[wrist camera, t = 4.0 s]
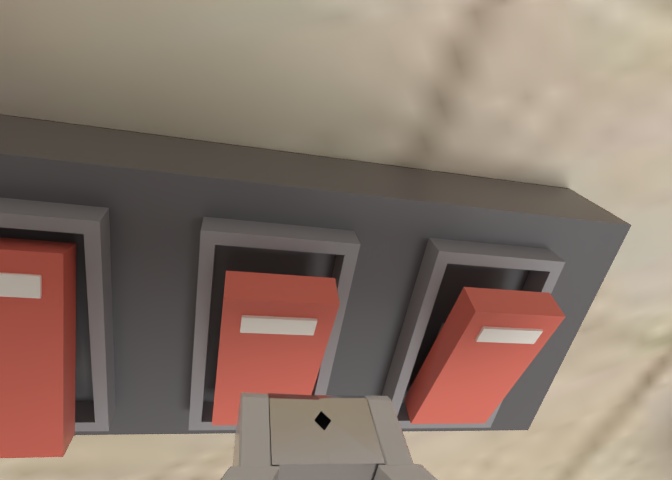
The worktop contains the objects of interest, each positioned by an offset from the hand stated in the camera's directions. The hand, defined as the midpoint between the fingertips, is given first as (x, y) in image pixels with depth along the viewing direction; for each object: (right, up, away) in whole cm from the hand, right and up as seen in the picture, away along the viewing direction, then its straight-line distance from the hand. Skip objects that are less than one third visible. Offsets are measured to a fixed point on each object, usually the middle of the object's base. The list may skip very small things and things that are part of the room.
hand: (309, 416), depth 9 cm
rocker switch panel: (-4, +2, +9) cm, 10 cm away
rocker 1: (-8, +1, +3) cm, 9 cm away
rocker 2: (-2, 0, +5) cm, 5 cm away
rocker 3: (+5, -1, +6) cm, 8 cm away
